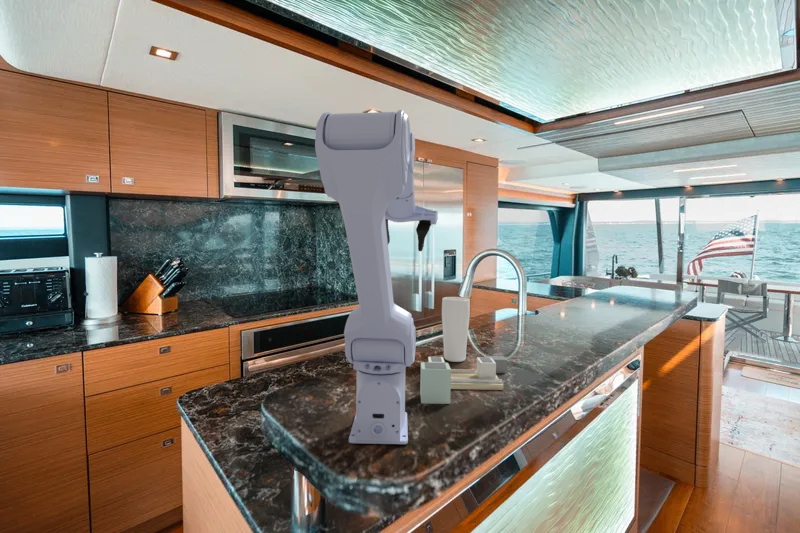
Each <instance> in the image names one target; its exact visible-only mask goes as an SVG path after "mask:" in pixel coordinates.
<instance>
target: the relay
mask: <svg viewBox="0 0 800 533" xmlns="http://www.w3.org/2000/svg"><path fill="white" fill-rule="evenodd" d="M485 358H492V359H493V360H494V361H495V363H496V374H501V373H502V374H507V372H508V370H507V368H508V359H507V358H506V357H505V356H503V355H502V356H501V355H485Z"/></svg>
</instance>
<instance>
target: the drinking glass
mask: <svg viewBox="0 0 800 533" xmlns="http://www.w3.org/2000/svg"><path fill="white" fill-rule="evenodd" d="M470 311H471V299H470V298H468V297H463V296H462V297H461V296H445V297H442V301H441V324H442V325H441V326H442V340H443V343H442V344H443V359H444V361H448V362H451V363H462V362H464V361H466V358H467V345H468V336H469V326H470V316H471V312H470Z"/></svg>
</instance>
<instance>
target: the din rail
mask: <svg viewBox="0 0 800 533" xmlns="http://www.w3.org/2000/svg"><path fill="white" fill-rule="evenodd" d="M451 373H476V369H472V368H469V369H467V368H466V369H463V368H459V369H458V368H451ZM451 382H458V383H503V382H504V381H503V379H502V378H499V379H465V378H451Z"/></svg>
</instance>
